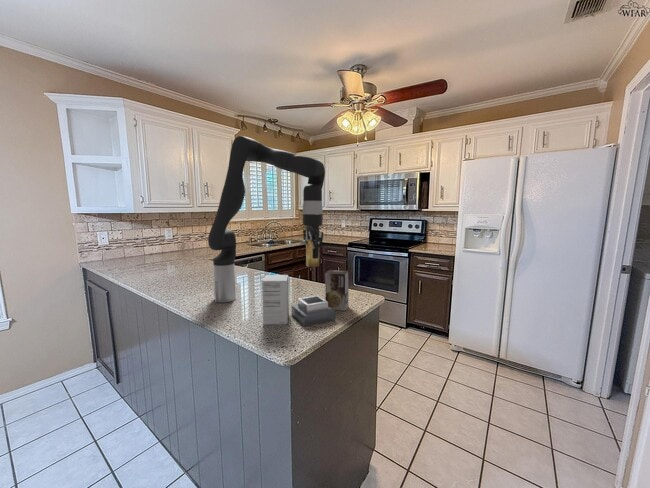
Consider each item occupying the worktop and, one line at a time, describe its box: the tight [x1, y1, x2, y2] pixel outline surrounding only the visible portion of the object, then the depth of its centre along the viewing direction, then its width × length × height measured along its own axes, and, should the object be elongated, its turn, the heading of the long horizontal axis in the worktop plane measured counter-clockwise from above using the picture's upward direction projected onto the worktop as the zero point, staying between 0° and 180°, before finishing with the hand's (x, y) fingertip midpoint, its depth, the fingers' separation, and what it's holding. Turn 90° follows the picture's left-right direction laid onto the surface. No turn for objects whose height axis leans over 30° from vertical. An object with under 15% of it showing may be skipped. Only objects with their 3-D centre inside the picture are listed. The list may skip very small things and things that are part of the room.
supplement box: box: [261, 274, 290, 326], centre depth 104 cm, size 10×9×17 cm
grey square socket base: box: [291, 295, 336, 327], centre depth 108 cm, size 13×13×7 cm
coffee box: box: [324, 269, 350, 312], centre depth 118 cm, size 9×6×16 cm
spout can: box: [300, 240, 320, 268], centre depth 105 cm, size 5×7×10 cm
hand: (312, 257), depth 105 cm, fingers closed on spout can, 5 cm apart
